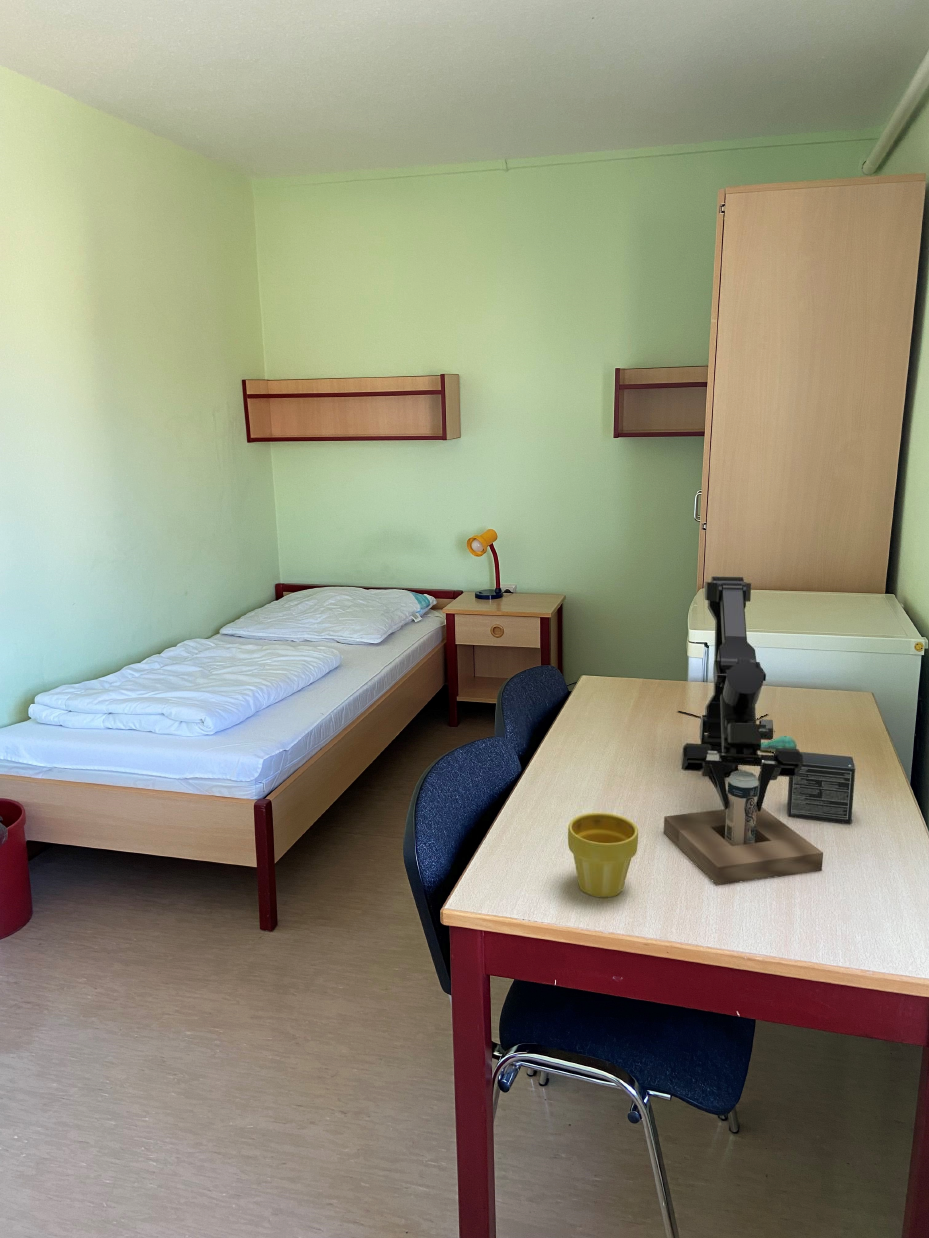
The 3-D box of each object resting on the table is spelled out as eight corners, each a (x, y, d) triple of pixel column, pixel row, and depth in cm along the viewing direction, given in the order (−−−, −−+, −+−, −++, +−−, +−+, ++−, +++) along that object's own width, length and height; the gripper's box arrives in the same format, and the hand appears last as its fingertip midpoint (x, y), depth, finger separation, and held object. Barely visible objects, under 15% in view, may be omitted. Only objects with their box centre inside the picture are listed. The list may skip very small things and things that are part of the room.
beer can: (753, 853, 138) (758, 783, 136) (722, 848, 140) (726, 779, 137) (755, 839, 143) (760, 771, 140) (725, 835, 144) (729, 767, 142)
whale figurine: (796, 759, 180) (798, 742, 179) (759, 755, 182) (760, 738, 181) (795, 749, 186) (796, 732, 185) (759, 746, 188) (760, 729, 187)
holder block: (758, 820, 152) (759, 804, 151) (821, 870, 135) (823, 852, 134) (663, 832, 148) (664, 816, 147) (717, 885, 131) (718, 866, 130)
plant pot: (644, 903, 126) (647, 841, 124) (574, 906, 125) (575, 844, 123) (626, 868, 136) (627, 810, 134) (561, 871, 136) (562, 813, 133)
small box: (848, 809, 156) (853, 755, 154) (852, 825, 150) (857, 768, 148) (786, 802, 159) (790, 748, 157) (787, 817, 153) (791, 761, 151)
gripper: (685, 697, 142) (686, 787, 134) (805, 702, 138) (813, 795, 130) (680, 726, 151) (681, 812, 143) (793, 731, 147) (800, 820, 139)
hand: (742, 809), depth 139 cm, fingers closed on beer can, 5 cm apart
